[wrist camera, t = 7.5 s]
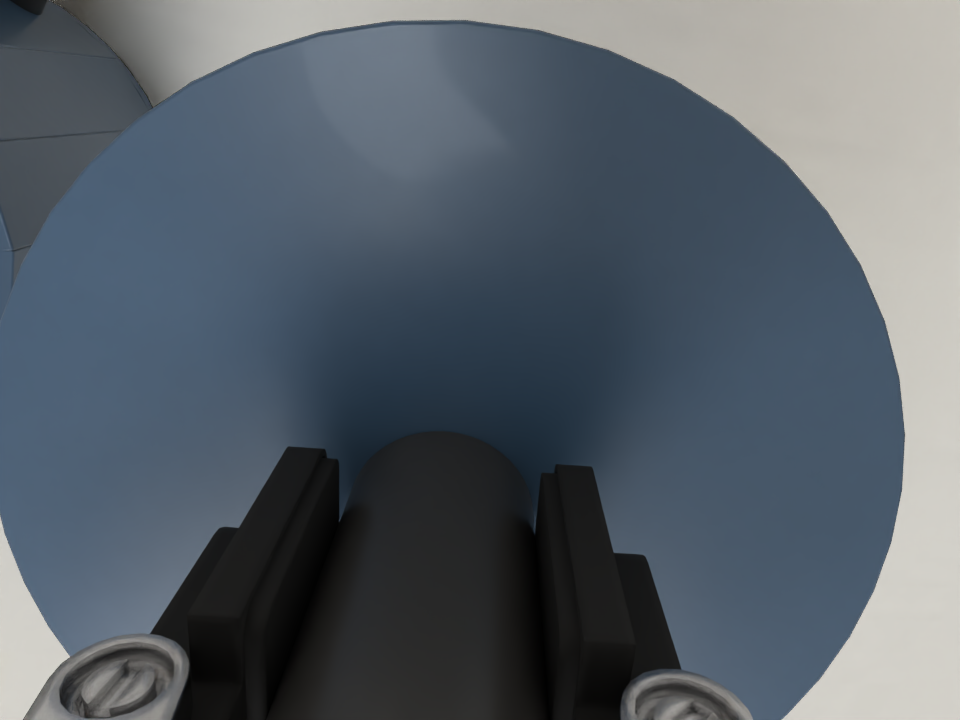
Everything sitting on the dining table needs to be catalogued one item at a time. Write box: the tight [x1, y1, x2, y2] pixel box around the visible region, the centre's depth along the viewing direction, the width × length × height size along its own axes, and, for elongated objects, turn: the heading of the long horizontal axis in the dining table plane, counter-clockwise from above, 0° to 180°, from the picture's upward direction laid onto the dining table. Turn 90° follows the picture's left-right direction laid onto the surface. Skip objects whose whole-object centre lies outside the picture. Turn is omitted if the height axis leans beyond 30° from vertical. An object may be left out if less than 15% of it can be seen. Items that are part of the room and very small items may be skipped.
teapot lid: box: [0, 20, 905, 720], centre depth 10 cm, size 15×15×7 cm
